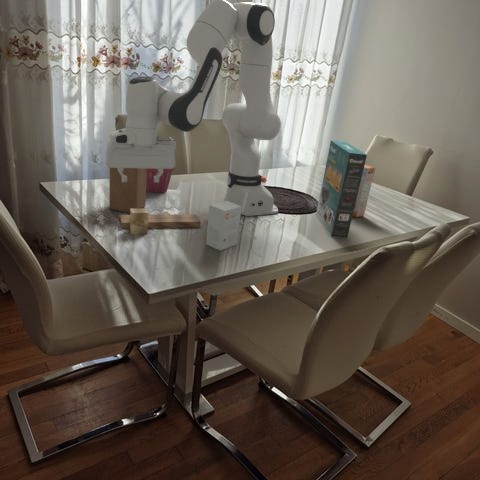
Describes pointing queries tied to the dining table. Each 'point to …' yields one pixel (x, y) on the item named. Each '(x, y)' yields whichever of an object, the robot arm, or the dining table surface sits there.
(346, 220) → the cake mix box
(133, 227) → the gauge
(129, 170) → the wooden block
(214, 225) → the small box
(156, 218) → the plank
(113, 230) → the dining table surface
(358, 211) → the cracker box
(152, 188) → the plant pot
